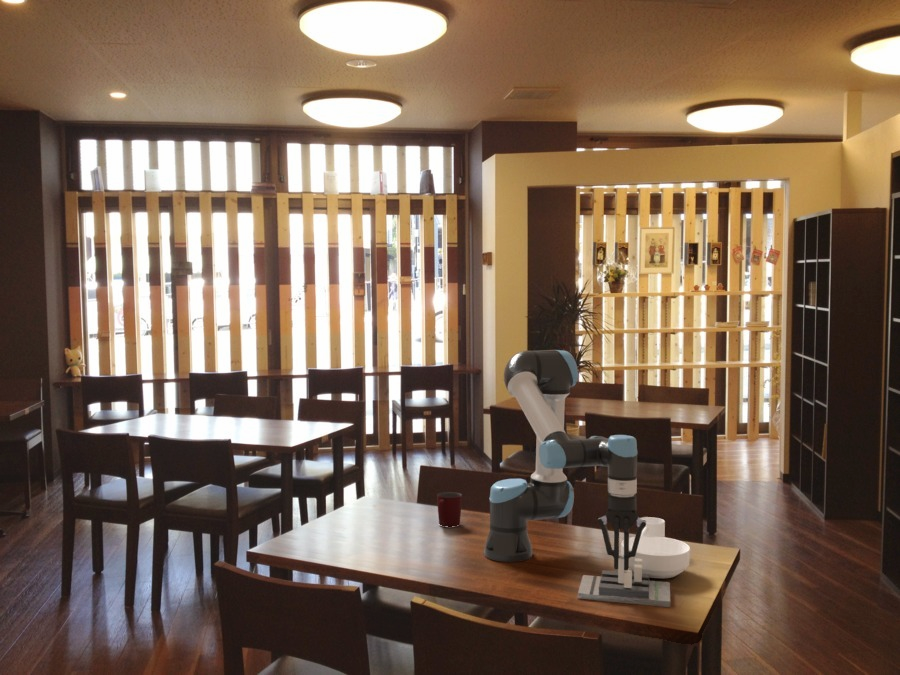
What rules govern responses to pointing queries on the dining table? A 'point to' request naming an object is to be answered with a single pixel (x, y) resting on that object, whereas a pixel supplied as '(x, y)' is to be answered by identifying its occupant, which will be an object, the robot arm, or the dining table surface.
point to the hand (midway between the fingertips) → (621, 581)
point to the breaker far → (638, 561)
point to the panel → (625, 599)
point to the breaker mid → (637, 573)
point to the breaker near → (627, 579)
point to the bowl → (659, 556)
